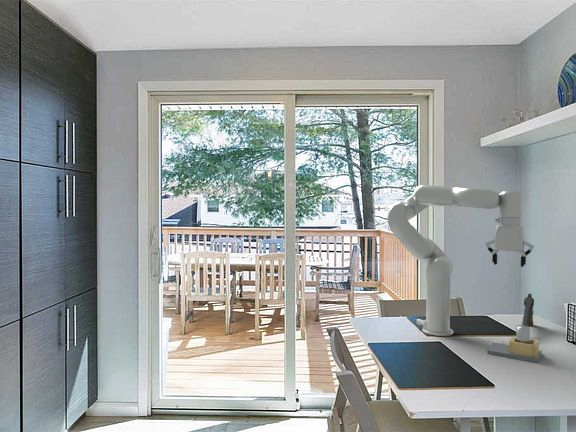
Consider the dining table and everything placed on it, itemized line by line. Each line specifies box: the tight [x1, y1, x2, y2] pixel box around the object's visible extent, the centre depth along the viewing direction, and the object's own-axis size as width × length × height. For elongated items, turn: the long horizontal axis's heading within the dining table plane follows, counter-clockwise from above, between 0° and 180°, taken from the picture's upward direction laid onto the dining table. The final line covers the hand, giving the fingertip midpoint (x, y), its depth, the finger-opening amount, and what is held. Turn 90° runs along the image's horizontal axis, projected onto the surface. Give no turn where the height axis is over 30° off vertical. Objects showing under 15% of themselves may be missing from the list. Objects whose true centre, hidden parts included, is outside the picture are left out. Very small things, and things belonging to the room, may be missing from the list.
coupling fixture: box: [487, 336, 543, 364], centre depth 162 cm, size 16×12×5 cm
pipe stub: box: [515, 324, 531, 344], centre depth 160 cm, size 4×4×9 cm
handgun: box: [521, 292, 535, 328], centre depth 190 cm, size 31×4×15 cm, turn 147°
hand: (508, 265), depth 177 cm, fingers open, 9 cm apart
